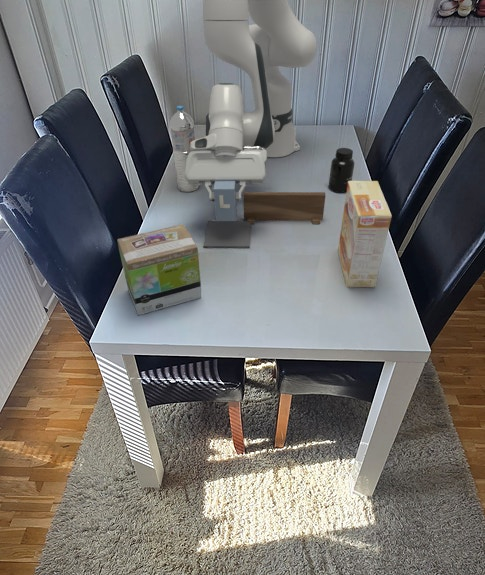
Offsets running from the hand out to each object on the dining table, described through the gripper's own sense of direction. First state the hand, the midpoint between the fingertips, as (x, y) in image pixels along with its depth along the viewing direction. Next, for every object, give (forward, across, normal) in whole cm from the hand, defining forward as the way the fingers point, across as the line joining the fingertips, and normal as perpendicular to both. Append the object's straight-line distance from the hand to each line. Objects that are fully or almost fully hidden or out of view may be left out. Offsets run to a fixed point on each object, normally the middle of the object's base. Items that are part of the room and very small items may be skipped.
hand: (225, 200), depth 112 cm
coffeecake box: (+17, -32, 0) cm, 36 cm away
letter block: (+3, 0, -4) cm, 5 cm away
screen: (+1, -15, -15) cm, 21 cm away
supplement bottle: (-11, -33, -27) cm, 44 cm away
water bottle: (-12, +14, -27) cm, 33 cm away
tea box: (+24, +13, +8) cm, 29 cm away
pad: (+7, 0, -9) cm, 11 cm away
